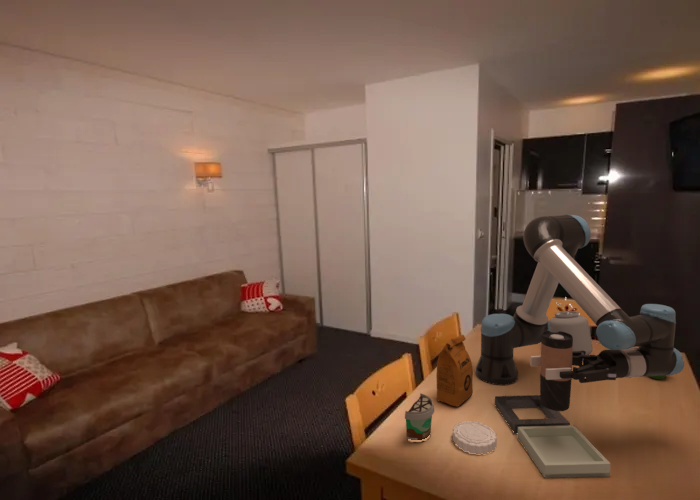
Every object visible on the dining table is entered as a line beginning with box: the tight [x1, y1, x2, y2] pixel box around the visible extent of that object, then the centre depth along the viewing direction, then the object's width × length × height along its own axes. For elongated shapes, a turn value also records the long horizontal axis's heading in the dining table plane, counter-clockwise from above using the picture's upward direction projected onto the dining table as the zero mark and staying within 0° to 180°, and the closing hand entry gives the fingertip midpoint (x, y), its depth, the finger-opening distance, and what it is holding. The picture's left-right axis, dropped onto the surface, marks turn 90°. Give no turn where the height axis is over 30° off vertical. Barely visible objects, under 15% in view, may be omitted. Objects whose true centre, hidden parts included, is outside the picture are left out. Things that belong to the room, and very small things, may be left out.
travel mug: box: [539, 331, 573, 412], centre depth 106 cm, size 8×8×20 cm
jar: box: [548, 296, 594, 355], centre depth 165 cm, size 19×15×25 cm
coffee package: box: [435, 334, 474, 407], centre depth 133 cm, size 10×12×22 cm
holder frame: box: [494, 394, 570, 434], centre depth 121 cm, size 16×16×3 cm
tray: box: [517, 424, 612, 479], centre depth 103 cm, size 16×16×4 cm
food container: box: [404, 393, 435, 440], centre depth 113 cm, size 12×6×10 cm, turn 148°
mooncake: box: [452, 420, 498, 455], centre depth 110 cm, size 12×12×4 cm
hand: (538, 367), depth 106 cm, fingers closed on travel mug, 7 cm apart
